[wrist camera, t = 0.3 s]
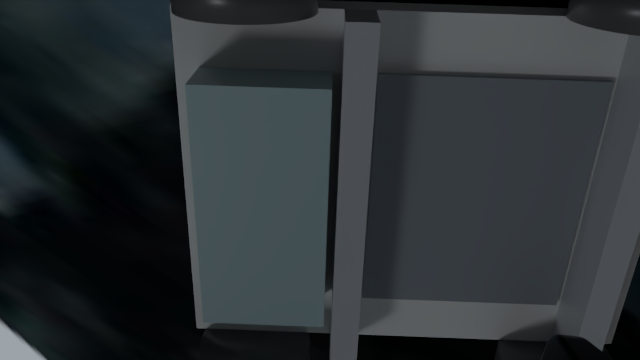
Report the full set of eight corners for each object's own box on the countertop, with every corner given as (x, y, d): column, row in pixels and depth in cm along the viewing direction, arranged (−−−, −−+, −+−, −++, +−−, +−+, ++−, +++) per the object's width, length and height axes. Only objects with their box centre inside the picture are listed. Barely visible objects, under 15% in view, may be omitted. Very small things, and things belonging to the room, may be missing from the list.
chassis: (588, 344, 26) (634, 426, 22) (206, 330, 26) (182, 408, 22) (701, -33, 19) (796, -12, 15) (177, -49, 19) (136, -33, 15)
